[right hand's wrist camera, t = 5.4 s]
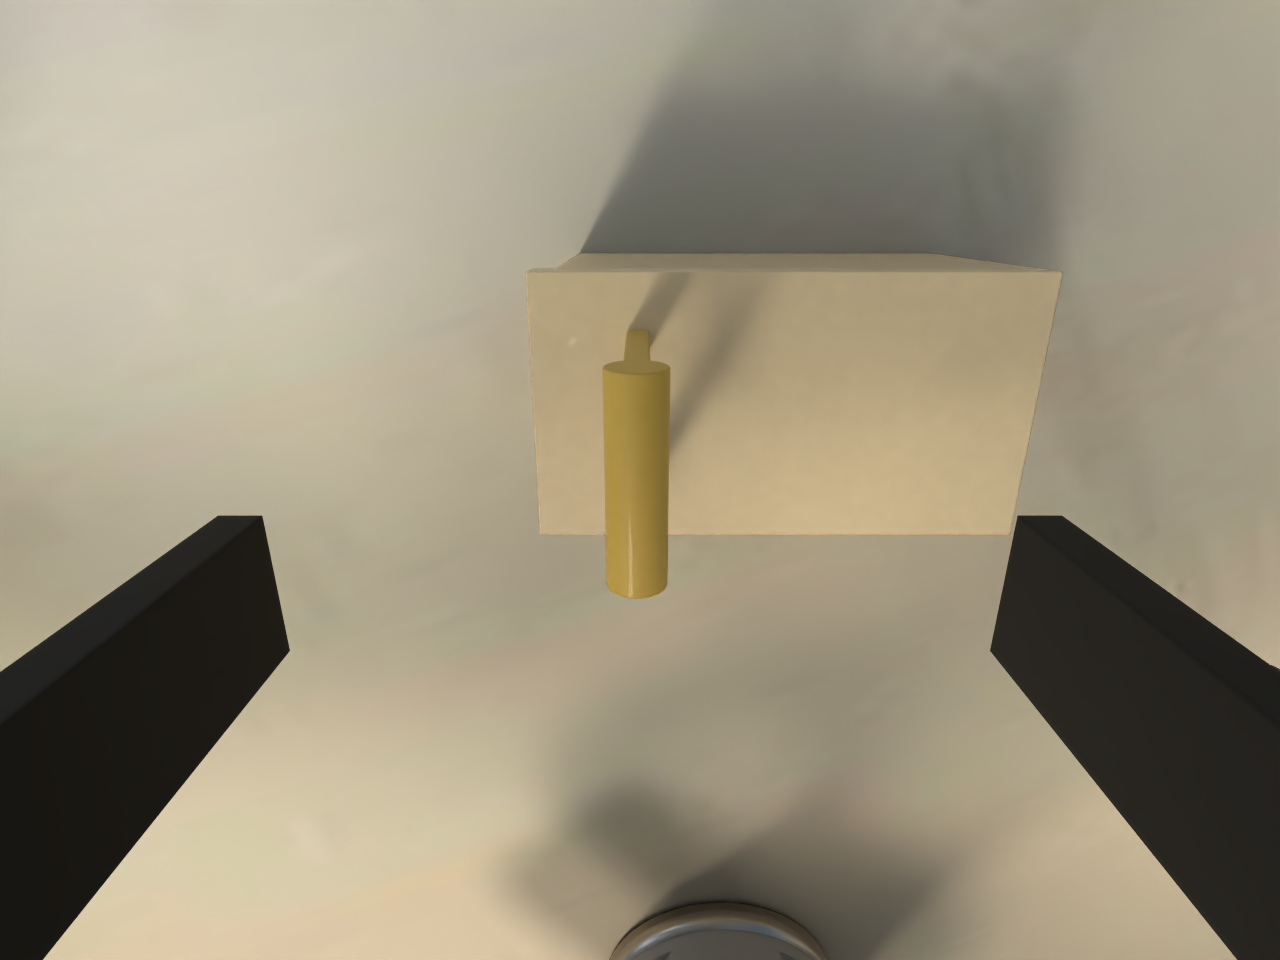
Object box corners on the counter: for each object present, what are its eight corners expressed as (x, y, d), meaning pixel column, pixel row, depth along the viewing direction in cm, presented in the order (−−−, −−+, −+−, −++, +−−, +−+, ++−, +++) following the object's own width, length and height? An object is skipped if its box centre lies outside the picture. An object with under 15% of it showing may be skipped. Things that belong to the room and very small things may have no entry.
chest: (584, 443, 35) (564, 520, 26) (578, 253, 32) (554, 268, 23) (905, 443, 35) (993, 520, 26) (931, 253, 32) (1041, 268, 23)
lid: (544, 520, 26) (502, 654, 18) (531, 268, 23) (473, 297, 15) (994, 520, 26) (1148, 655, 18) (1042, 268, 23) (1254, 297, 15)
